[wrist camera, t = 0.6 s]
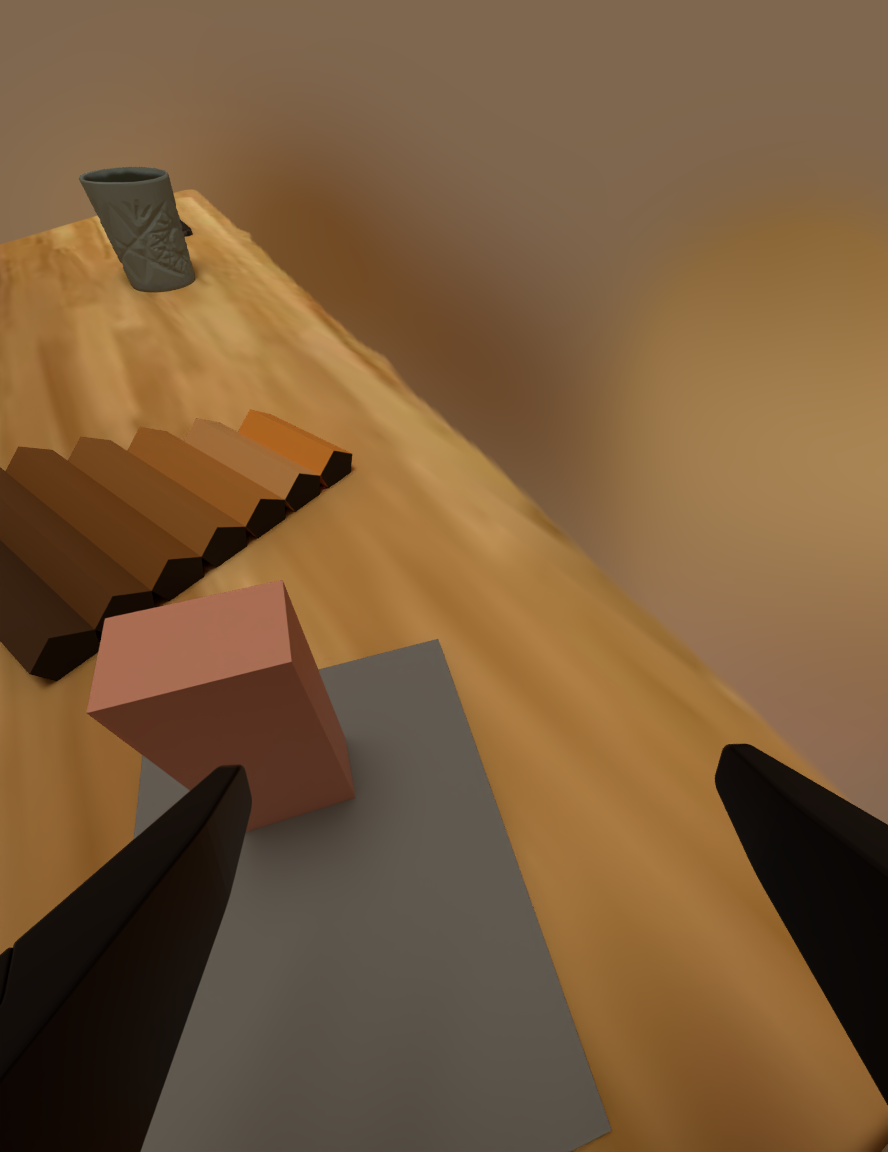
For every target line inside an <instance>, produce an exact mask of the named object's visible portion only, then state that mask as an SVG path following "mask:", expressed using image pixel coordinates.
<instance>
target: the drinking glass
mask: <svg viewBox="0 0 888 1152" xmlns="http://www.w3.org/2000/svg"><path fill="white" fill-rule="evenodd" d="M79 180H80V182H81V184H82V186H83V188H84V190H85V191H86V193H87V196H88V197H89V199H90V202H91V204H92V205H93V207H94V209H95V212H96V213H97V215H98V217H99V218H100V221H101V224H102V226H103V228H104V230H105V232H106V234H107V237H108V239H109V240H110V243H111V244H112V246H113V249H114V251H115V252H116V254H117V255H118V258H119V260H120V262H121V263H122V264H123V269H124V271H125V273H126V275H127V277H128V279H129V281H130V283H131V285H132V286H133V287H134V288H135V289H136V290H139V291H143V292H164V291H171V290H176V289H179V288H182V287H185V286H187V285H189V284H191V283H192V282H193V281H194V280H195V274H194V271H193V267H192V264H191V261H190V257H189V252H188V249H187V244H186V242H185V238H184V237H185V236H184V233H183V232H182V225H181V223H180V218H179V215H178V211H177V209H176V203H175V199H174V195H173V191H172V186H171V182H170V178H169V175H168V173H167V172H166V171H164V170H160V169H156V168H145V167H125V168H124V167H123V168H112V169H103V170H97V171H92V172H88V173H85V174H82V175H80V177H79Z"/></svg>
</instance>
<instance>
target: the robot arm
mask: <svg viewBox="0 0 888 1152" xmlns="http://www.w3.org/2000/svg"><path fill="white" fill-rule="evenodd" d="M715 785H716V788H717V791H718V793H719V796H720V798H721V800H722V802H723V804H724V806H725V809H726V811H727V813H728V815H729V817H730V820H731V822H732V824H733V826H734V828H735V830H736V833H737V835H738V837H739V839H740V841H741V844H742V846H743V848H744V850H745V852H746V855H747V857H748V859H749V861H750V863H751V865H752V867H753V869H754V871H755V873H756V875H757V877H758V879H759V880H760V882H761V884H762V886H763V888H764V889H765V891H766V893H767V895H768V896H769V898H770V900H771V902H772V903H773V905H774V907H775V909H776V910H777V912H778V914H779V916H780V917H781V919H782V921H783V923H784V924H785V926H786V928H787V930H788V931H789V933H790V935H791V937H792V938H793V940H794V942H795V944H796V945H797V947H798V949H799V951H800V952H801V954H802V956H803V958H804V959H805V961H806V963H807V965H808V966H809V968H810V970H811V972H812V974H813V975H814V977H815V979H816V981H817V982H818V984H819V986H820V988H821V989H822V991H823V993H824V995H825V996H826V998H827V1000H828V1002H829V1003H830V1005H831V1007H832V1009H833V1010H834V1012H835V1014H836V1016H837V1017H838V1019H839V1021H840V1023H841V1024H842V1026H843V1028H844V1030H845V1031H846V1033H847V1035H848V1037H849V1038H850V1040H851V1042H852V1044H853V1045H854V1047H855V1049H856V1051H857V1052H858V1054H859V1056H860V1058H861V1059H862V1061H863V1063H864V1065H865V1066H866V1068H867V1070H868V1072H869V1073H870V1075H871V1077H872V1079H873V1080H874V1082H875V1084H876V1086H877V1087H878V1089H879V1091H880V1093H881V1094H882V1096H883V1098H884V1100H885V1101H886V1103H887V1105H888V825H887V824H886V823H884V822H882V821H880V820H879V819H877V818H875V817H874V816H872V815H870V814H868V813H867V812H865V811H863V810H862V809H860V808H858V807H856V806H855V805H853V804H851V803H850V802H848V801H846V800H844V799H843V798H841V797H839V796H838V795H836V794H834V793H832V792H831V791H829V790H827V789H826V788H824V787H822V786H820V785H819V784H817V783H815V782H814V781H812V780H810V779H808V778H807V777H805V776H803V775H802V774H800V773H798V772H796V771H795V770H793V769H791V768H790V767H788V766H786V765H784V764H783V763H781V762H779V761H778V760H776V759H774V758H772V757H771V756H769V755H767V754H766V753H764V752H762V751H760V750H759V749H757V748H755V747H754V746H752V745H749V744H728V745H726V746H725V747H724V748H723V750H722V753H721V756H720V760H719V763H718V767H717V770H716V774H715ZM251 808H252V796H251V791H250V787H249V783H248V779H247V774H246V771H245V768H244V767H243V766H242V765H240V764H236V765H221V766H219V767H217V768H216V769H215V770H213V771H212V772H211V773H210V774H209V775H208V776H206V777H205V778H204V779H203V780H202V781H201V782H200V783H198V784H197V785H196V786H195V787H194V788H193V789H191V790H190V791H189V792H188V793H187V794H186V795H184V796H183V797H182V798H181V799H180V800H179V801H178V802H176V803H175V804H174V805H173V806H172V807H171V808H169V809H168V810H167V811H166V812H165V813H164V814H163V815H161V816H160V817H159V818H158V819H157V820H156V821H154V822H153V823H152V824H151V825H150V826H149V827H148V828H146V829H145V830H144V831H143V832H142V833H141V834H139V835H138V836H137V837H136V838H135V839H134V840H133V841H131V842H130V843H129V844H128V845H127V846H126V847H124V848H123V849H122V850H121V851H120V852H119V853H118V854H116V855H115V856H114V857H113V858H112V859H111V860H109V861H108V862H107V863H106V864H105V865H104V866H102V867H101V868H100V869H99V870H98V871H97V872H96V873H94V874H93V875H92V876H91V877H90V878H89V879H87V880H86V881H85V882H84V883H83V884H82V885H81V886H79V887H78V888H77V889H76V890H75V891H74V892H72V893H71V894H70V895H69V896H68V897H67V898H66V899H64V900H63V901H62V902H61V903H60V904H59V905H57V906H56V907H55V908H54V909H53V910H52V911H51V912H49V913H48V914H47V915H46V916H45V917H44V918H42V919H41V920H40V921H39V922H38V923H37V924H35V925H34V926H33V927H32V928H31V929H30V930H29V931H27V932H26V933H25V934H24V935H23V936H22V937H20V938H19V939H18V940H17V941H16V942H15V943H14V946H13V948H8V949H6V950H5V951H4V952H3V953H2V954H1V955H0V1152H141V1149H142V1147H143V1144H144V1141H145V1138H146V1135H147V1132H148V1130H149V1127H150V1124H151V1121H152V1118H153V1115H154V1112H155V1110H156V1107H157V1104H158V1101H159V1098H160V1095H161V1093H162V1090H163V1087H164V1084H165V1081H166V1078H167V1075H168V1073H169V1070H170V1067H171V1064H172V1061H173V1058H174V1056H175V1053H176V1050H177V1047H178V1044H179V1041H180V1039H181V1036H182V1033H183V1030H184V1027H185V1024H186V1021H187V1019H188V1016H189V1013H190V1010H191V1007H192V1004H193V1002H194V999H195V996H196V993H197V990H198V987H199V984H200V982H201V979H202V976H203V973H204V970H205V967H206V965H207V962H208V959H209V956H210V953H211V950H212V947H213V945H214V942H215V939H216V936H217V933H218V930H219V928H220V925H221V922H222V919H223V916H224V913H225V910H226V907H227V904H228V901H229V898H230V894H231V890H232V886H233V883H234V879H235V874H236V870H237V866H238V862H239V858H240V854H241V850H242V846H243V842H244V838H245V833H246V829H247V825H248V821H249V817H250V813H251Z"/></svg>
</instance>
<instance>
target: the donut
mask: <svg viewBox="0 0 888 1152" xmlns="http://www.w3.org/2000/svg"><path fill="white" fill-rule="evenodd" d="M881 1152H888V1144H887V1145H886V1146H885V1148H884V1149H883V1150H882V1151H881Z"/></svg>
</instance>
